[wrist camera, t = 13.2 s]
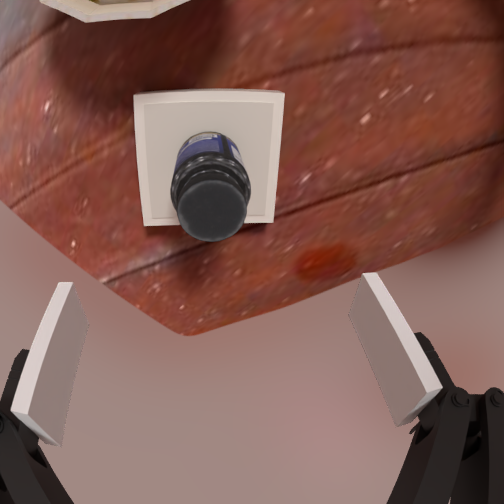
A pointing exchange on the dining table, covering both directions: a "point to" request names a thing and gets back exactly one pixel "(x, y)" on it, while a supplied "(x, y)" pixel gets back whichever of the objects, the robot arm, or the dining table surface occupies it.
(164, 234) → the dining table surface
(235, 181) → the pill bottle
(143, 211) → the square plate
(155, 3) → the bowl
